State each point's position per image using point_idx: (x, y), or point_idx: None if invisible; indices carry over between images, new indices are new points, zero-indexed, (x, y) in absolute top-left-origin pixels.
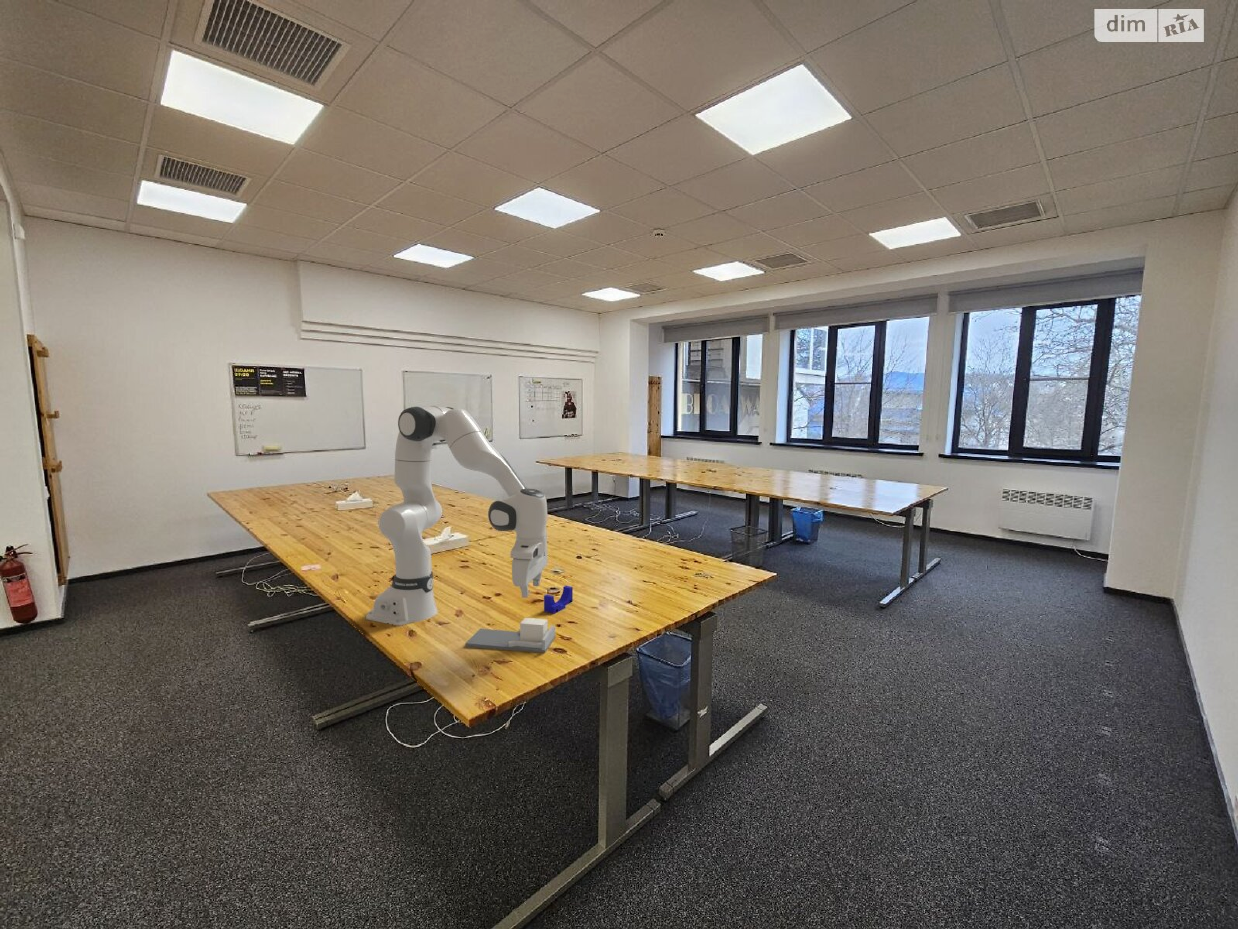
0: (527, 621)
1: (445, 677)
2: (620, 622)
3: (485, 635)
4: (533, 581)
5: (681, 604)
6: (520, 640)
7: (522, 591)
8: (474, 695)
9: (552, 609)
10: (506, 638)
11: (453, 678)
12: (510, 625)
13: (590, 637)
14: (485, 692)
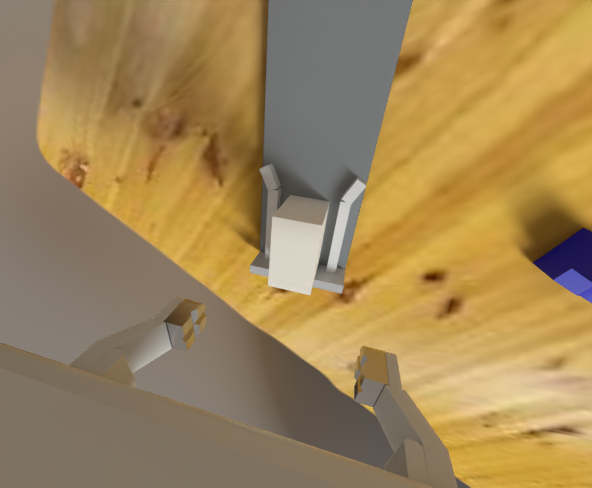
0: (288, 239)
1: (99, 15)
2: (425, 390)
3: (341, 44)
4: (364, 373)
5: (501, 484)
6: (288, 197)
7: (150, 324)
8: (81, 137)
9: (553, 267)
10: (317, 143)
11: (105, 47)
12: (468, 117)
13: (350, 335)
14: (99, 158)
